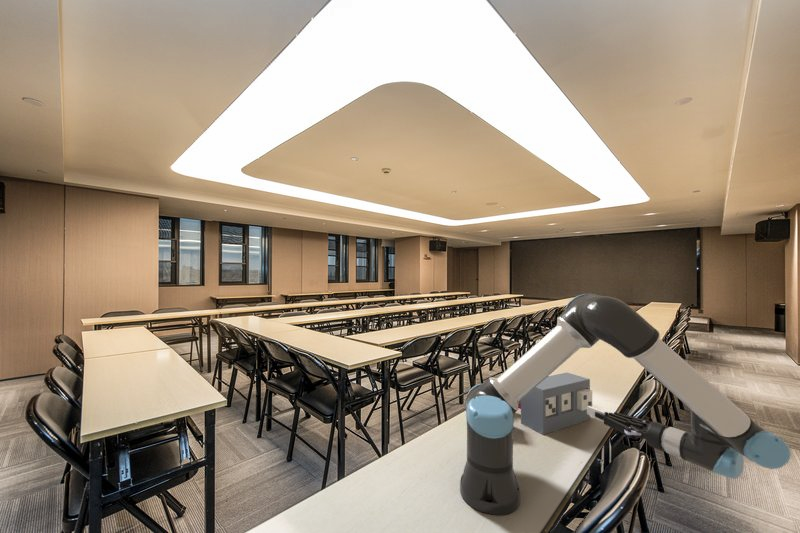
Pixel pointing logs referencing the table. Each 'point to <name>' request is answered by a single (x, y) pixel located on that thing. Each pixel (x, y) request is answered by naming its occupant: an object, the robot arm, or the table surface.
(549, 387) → the tile console
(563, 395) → the one dot tile
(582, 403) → the two dot tile
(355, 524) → the table surface
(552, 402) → the three dot tile
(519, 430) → the table surface
